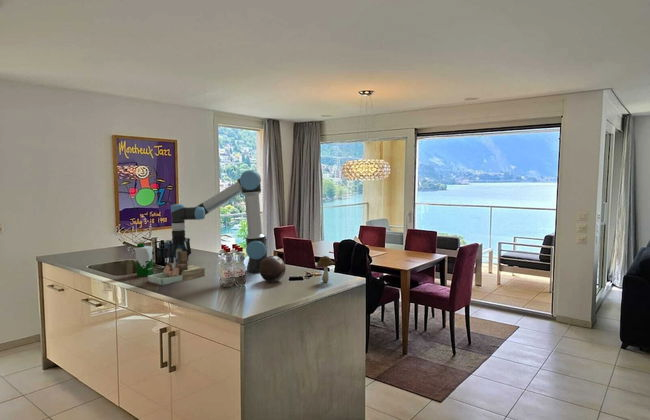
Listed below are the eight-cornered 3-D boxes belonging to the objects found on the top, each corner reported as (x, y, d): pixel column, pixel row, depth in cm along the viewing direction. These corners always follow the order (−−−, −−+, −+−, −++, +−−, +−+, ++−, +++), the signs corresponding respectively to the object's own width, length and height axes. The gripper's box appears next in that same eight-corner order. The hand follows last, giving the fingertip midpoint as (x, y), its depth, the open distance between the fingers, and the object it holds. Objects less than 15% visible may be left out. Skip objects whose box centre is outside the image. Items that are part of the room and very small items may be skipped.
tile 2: (173, 271, 248) (170, 273, 246) (176, 277, 250) (174, 279, 248) (169, 270, 251) (166, 272, 249) (172, 276, 252) (170, 278, 251)
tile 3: (172, 268, 252) (170, 268, 250) (168, 275, 252) (166, 274, 250) (169, 265, 255) (166, 264, 253) (165, 272, 254) (162, 271, 253)
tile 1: (179, 268, 246) (176, 267, 245) (178, 275, 245) (175, 274, 243) (175, 269, 249) (172, 269, 248) (174, 276, 247) (171, 276, 246)
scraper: (192, 268, 251) (191, 252, 250) (181, 271, 246) (180, 254, 245) (178, 265, 261) (177, 249, 261) (167, 267, 256) (166, 251, 255)
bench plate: (204, 275, 258) (204, 268, 258) (182, 280, 246) (181, 272, 246) (191, 272, 268) (190, 265, 268) (168, 277, 256) (168, 269, 256)
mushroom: (338, 280, 240) (337, 255, 239) (326, 285, 231) (325, 258, 230) (325, 278, 246) (325, 253, 245) (313, 282, 237) (312, 256, 236)
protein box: (166, 260, 310) (165, 240, 308) (188, 260, 311) (187, 239, 310) (162, 263, 299) (161, 242, 298) (185, 262, 301) (184, 241, 300)
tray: (182, 281, 246) (182, 275, 246) (161, 285, 236) (161, 279, 236) (168, 277, 256) (168, 271, 256) (147, 281, 247) (147, 275, 246)
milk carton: (143, 273, 268) (141, 242, 267) (155, 273, 267) (154, 242, 265) (134, 276, 260) (132, 244, 258) (147, 277, 258) (145, 245, 256)
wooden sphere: (281, 285, 232) (280, 258, 231) (256, 284, 235) (255, 258, 234) (288, 278, 247) (288, 253, 246) (264, 278, 250) (263, 253, 249)
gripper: (189, 227, 262) (191, 263, 264) (159, 231, 247) (161, 269, 248) (196, 228, 257) (198, 265, 259) (165, 232, 242) (167, 271, 243)
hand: (180, 267), depth 253 cm, fingers closed on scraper, 7 cm apart
